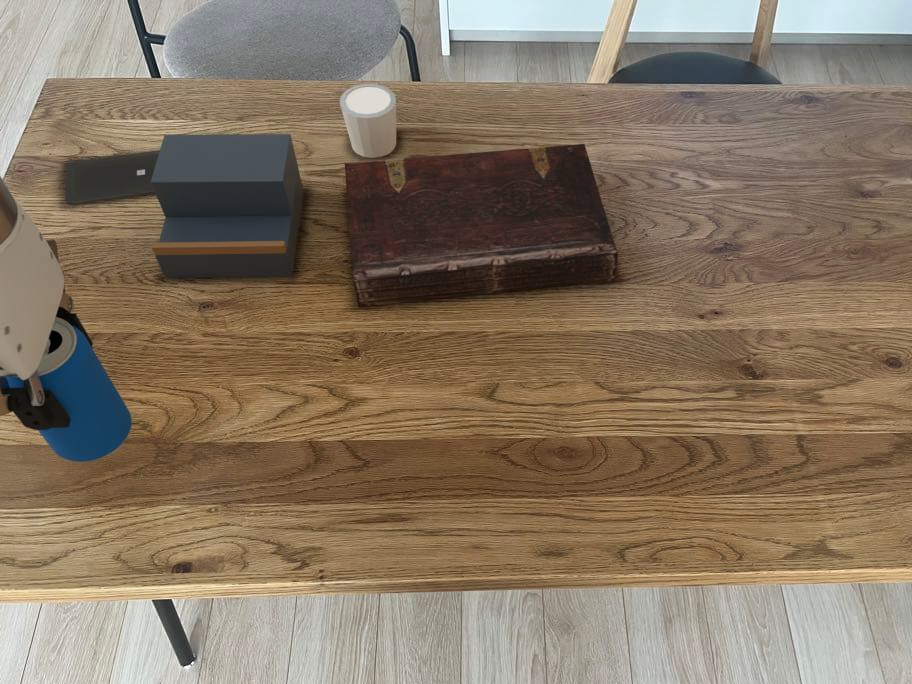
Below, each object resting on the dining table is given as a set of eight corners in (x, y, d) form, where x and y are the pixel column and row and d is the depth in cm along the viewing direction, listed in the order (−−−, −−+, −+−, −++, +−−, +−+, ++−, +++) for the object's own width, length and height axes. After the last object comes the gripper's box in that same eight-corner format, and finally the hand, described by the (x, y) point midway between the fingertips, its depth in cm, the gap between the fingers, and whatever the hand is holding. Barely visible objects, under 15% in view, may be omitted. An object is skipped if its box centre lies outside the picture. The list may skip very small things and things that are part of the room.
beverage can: (150, 432, 73) (99, 344, 63) (80, 481, 70) (16, 397, 60) (106, 388, 75) (50, 297, 65) (37, 434, 72) (-32, 345, 62)
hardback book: (359, 310, 96) (352, 279, 92) (350, 195, 106) (344, 163, 102) (613, 284, 100) (618, 253, 96) (581, 176, 110) (584, 143, 106)
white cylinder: (339, 137, 113) (331, 90, 107) (389, 124, 115) (383, 77, 109) (358, 169, 109) (350, 123, 103) (409, 155, 111) (404, 108, 105)
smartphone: (197, 190, 106) (195, 185, 105) (66, 208, 103) (63, 203, 102) (195, 150, 110) (193, 145, 109) (68, 167, 107) (66, 161, 106)
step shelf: (166, 280, 97) (139, 221, 90) (187, 195, 105) (164, 134, 98) (293, 278, 98) (276, 219, 91) (304, 194, 106) (290, 133, 99)
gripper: (-74, 119, 57) (40, 300, 72) (-181, 325, 47) (-24, 485, 62) (46, 121, 57) (134, 300, 72) (-35, 324, 48) (86, 483, 62)
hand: (60, 384), depth 67 cm, fingers closed on beverage can, 6 cm apart
